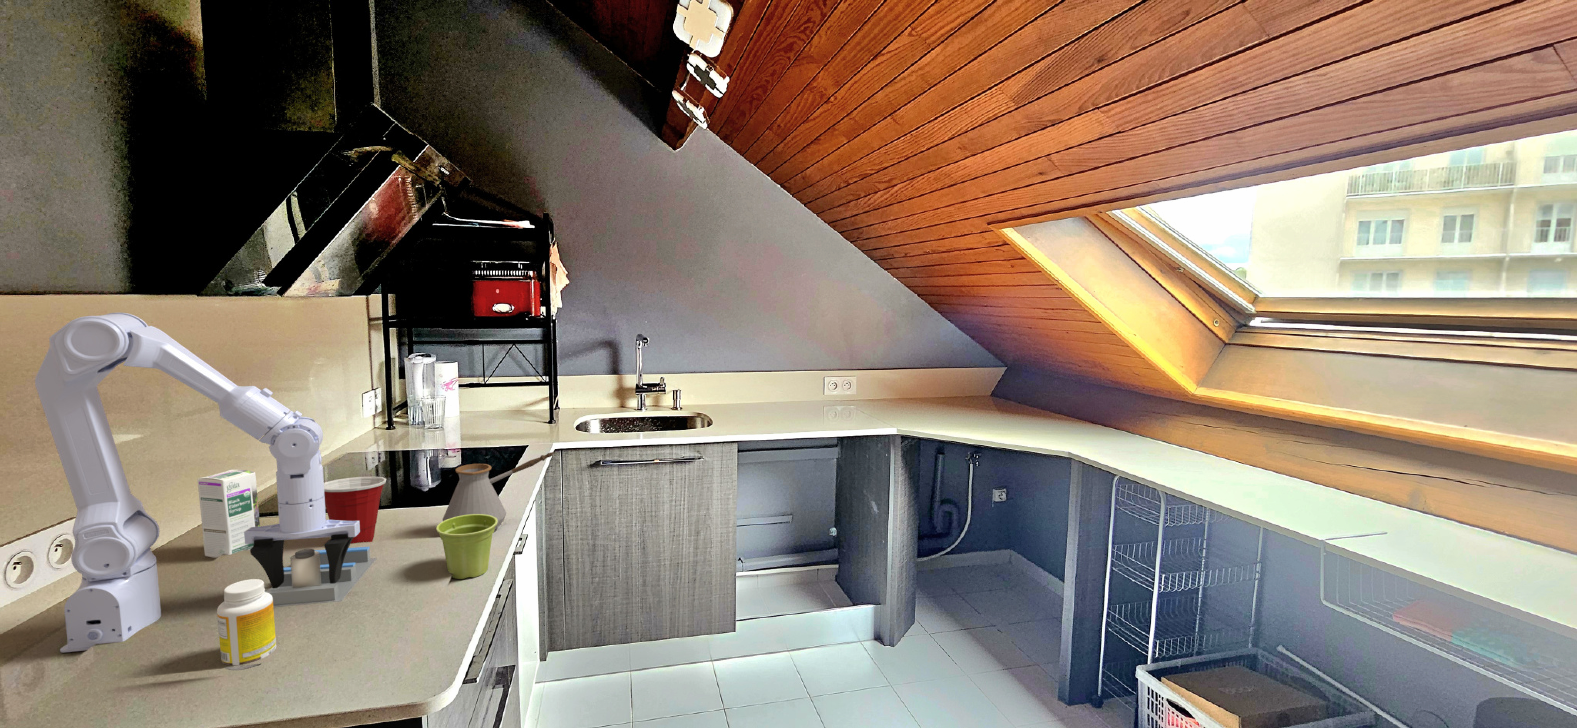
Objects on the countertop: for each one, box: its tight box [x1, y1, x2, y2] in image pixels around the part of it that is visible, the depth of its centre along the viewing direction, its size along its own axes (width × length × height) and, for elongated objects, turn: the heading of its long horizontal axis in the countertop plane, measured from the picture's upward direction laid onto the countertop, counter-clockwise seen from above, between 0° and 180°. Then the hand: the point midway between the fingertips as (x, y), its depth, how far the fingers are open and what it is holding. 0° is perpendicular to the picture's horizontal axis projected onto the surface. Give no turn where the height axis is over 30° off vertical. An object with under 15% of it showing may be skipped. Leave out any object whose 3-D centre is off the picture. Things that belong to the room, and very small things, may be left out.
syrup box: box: [197, 469, 261, 559], centre depth 116 cm, size 6×6×14 cm
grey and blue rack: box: [265, 546, 378, 608], centre depth 105 cm, size 16×12×3 cm
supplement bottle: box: [216, 578, 277, 671], centre depth 84 cm, size 6×6×10 cm
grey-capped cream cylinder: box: [290, 548, 321, 588], centre depth 100 cm, size 4×4×7 cm
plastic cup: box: [324, 476, 387, 545], centre depth 122 cm, size 11×11×12 cm
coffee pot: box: [442, 451, 557, 531], centre depth 131 cm, size 21×12×15 cm, turn 113°
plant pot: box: [436, 514, 498, 580], centre depth 111 cm, size 9×9×9 cm
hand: (307, 582), depth 101 cm, fingers open, 7 cm apart
